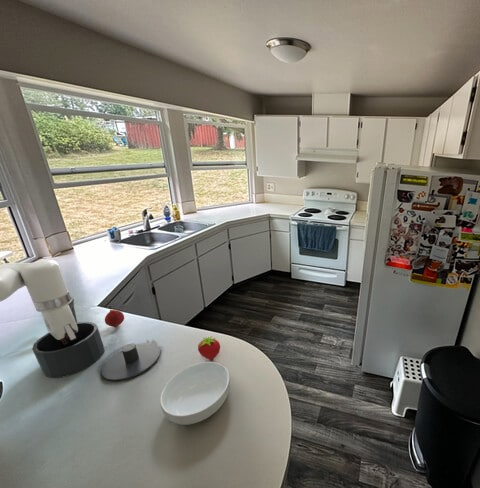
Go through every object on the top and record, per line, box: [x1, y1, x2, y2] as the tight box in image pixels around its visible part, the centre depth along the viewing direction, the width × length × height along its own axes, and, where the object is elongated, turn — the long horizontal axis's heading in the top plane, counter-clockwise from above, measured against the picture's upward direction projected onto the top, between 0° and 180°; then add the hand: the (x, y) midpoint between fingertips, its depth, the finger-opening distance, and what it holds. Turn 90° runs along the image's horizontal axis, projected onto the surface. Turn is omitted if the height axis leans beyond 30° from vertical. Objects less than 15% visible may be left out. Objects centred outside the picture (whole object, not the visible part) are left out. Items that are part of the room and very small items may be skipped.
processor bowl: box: [31, 321, 105, 379], centre depth 81 cm, size 15×15×10 cm
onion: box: [104, 308, 125, 328], centre depth 98 cm, size 6×6×8 cm
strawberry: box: [197, 335, 221, 361], centre depth 83 cm, size 6×8×10 cm
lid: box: [100, 342, 161, 382], centre depth 82 cm, size 16×16×6 cm
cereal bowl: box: [159, 361, 231, 426], centre depth 69 cm, size 17×17×7 cm
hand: (71, 348), depth 81 cm, fingers closed on blade, 2 cm apart
